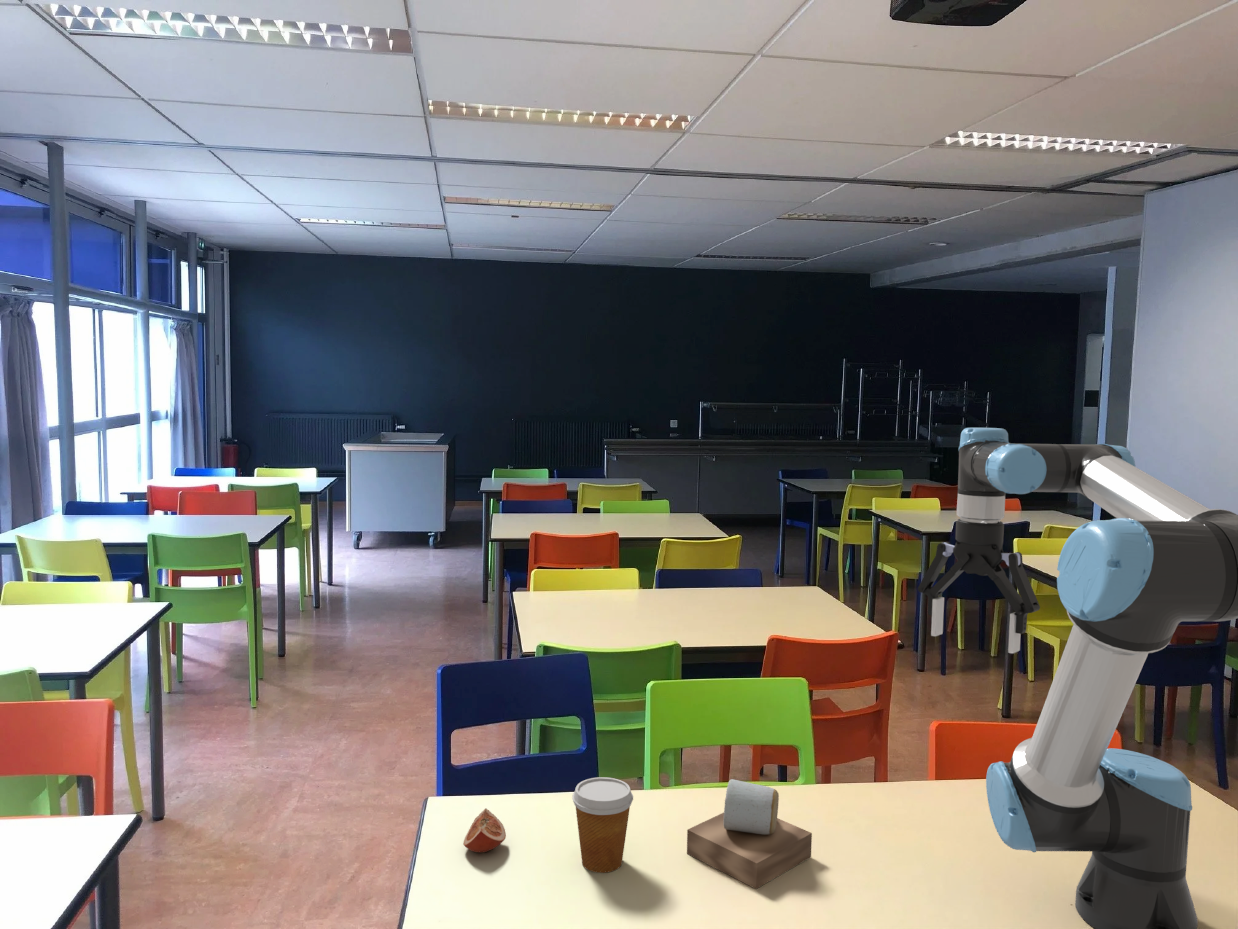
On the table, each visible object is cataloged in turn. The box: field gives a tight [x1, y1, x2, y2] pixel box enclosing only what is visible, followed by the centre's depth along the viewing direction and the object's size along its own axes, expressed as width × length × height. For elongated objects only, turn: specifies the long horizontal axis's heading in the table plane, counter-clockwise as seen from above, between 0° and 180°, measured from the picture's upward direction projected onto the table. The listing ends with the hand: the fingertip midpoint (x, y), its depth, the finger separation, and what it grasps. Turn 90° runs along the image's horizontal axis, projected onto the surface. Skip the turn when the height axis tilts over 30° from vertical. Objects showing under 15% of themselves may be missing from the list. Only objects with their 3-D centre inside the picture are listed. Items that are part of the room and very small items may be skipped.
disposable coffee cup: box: [571, 776, 634, 874], centre depth 144 cm, size 10×10×12 cm
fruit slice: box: [463, 808, 507, 853], centre depth 149 cm, size 8×7×5 cm
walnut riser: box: [686, 812, 813, 890], centre depth 148 cm, size 14×14×4 cm
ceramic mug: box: [723, 778, 780, 835], centre depth 149 cm, size 11×8×8 cm
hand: (974, 643), depth 157 cm, fingers open, 13 cm apart
